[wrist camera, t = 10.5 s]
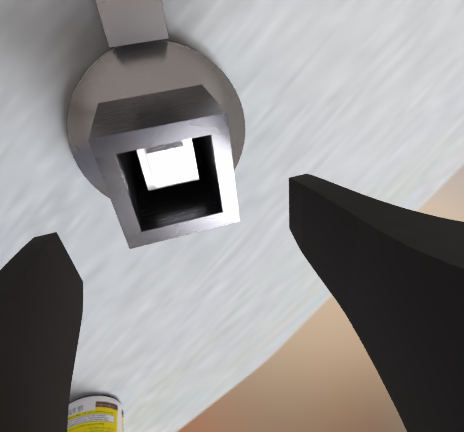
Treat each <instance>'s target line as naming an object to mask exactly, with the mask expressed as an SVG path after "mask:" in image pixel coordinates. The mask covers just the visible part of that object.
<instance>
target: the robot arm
mask: <svg viewBox="0 0 464 432" xmlns="http://www.w3.org/2000/svg"><path fill="white" fill-rule="evenodd" d="M289 228H290V230H291V232H292V234H293V236H294V238H295V240H296V242H297V244H298V246H299V248H300V250H301V251H302V253H303V255H304V256H305V257H306V259H307V260H308V262H309V263H310V264H311V266H312V267H313V269H314V270H315V271H316V273H317V274H318V276H319V277H320V278H321V280H322V281H323V282H324V284H325V285H326V287H327V288H328V289H329V291H330V292H331V294H332V295H333V296H334V298H335V299H336V300H337V302H338V303H339V305H340V306H341V308H342V309H343V311H344V312H345V314H346V315H347V317H348V319H349V321H350V322H351V324H352V326H353V328H354V329H355V331H356V333H357V335H358V336H359V338H360V340H361V342H362V343H363V345H364V347H365V349H366V351H367V353H368V355H369V356H370V358H371V360H372V362H373V364H374V366H375V368H376V369H377V371H378V373H379V375H380V377H381V379H382V381H383V383H384V385H385V387H386V389H387V391H388V393H389V395H390V397H391V399H392V401H393V403H394V405H395V407H396V409H397V411H398V413H399V415H400V417H401V419H402V422H403V423H404V426H405V428H406V430H407V432H464V222H461V221H455V220H450V219H445V218H440V217H436V216H432V215H428V214H424V213H420V212H416V211H412V210H409V209H405V208H402V207H398V206H395V205H392V204H389V203H386V202H383V201H380V200H377V199H374V198H371V197H368V196H365V195H363V194H360V193H357V192H355V191H352V190H349V189H347V188H344V187H342V186H339V185H337V184H334V183H332V182H329V181H326V180H324V179H321V178H318V177H316V176H313V175H309V174H304V175H299V176H295V177H291V178H289ZM82 313H83V281H82V279H81V277H80V275H79V274H78V272H77V270H76V268H75V266H74V264H73V262H72V260H71V258H70V257H69V255H68V253H67V251H66V249H65V247H64V245H63V243H62V242H61V240H60V238H59V236H58V234H57V232H55V233H51V234H47V235H42V236H38V237H34V238H33V239H32V240H31V241H29V242H28V243H27V244H26V245H25V246H24V247H23V248H22V249H21V250H20V251H19V252H18V253H17V254H16V255H15V256H14V257H13V258H12V259H11V260H10V261H9V262H8V263H7V264H6V265H5V266H4V267H3V268H2V269H1V270H0V432H67V426H68V408H69V396H70V388H71V381H72V375H73V369H74V363H75V357H76V351H77V345H78V339H79V332H80V326H81V320H82Z"/></svg>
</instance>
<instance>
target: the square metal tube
mask: <svg viewBox="0 0 464 432" xmlns="http://www.w3.org/2000/svg"><path fill="white" fill-rule="evenodd" d="M196 137H197V140H198V145H199V151H200V156H201V162H202V166H200V167H197V171H198V176H199V180H194V181H190V182H185V183H181V184H176V185H172V186H167V187H163V188H158V189H154V190H149V191H148V187H147V184H146V180H145V179H140V180H138V177H137V174H136V171H135V168H134V165H133V161H132V158H131V155H130V152H129V151H133V150H138V149H143V148H148V147H153V146H158V145H162V144H167V143H172V142H177V141H182V140H187V139H192V138H196ZM88 141H89V144H90V147H91V149H92V152H93V154H94V157H95V160H96V162H97V165H98V168H99V170H100V173H101V175H102V178H103V181H104V183H105V186H106V188H107V191H108V194H109V196H110V199H111V201H112V204H113V207H114V209H115V212H116V214H117V217H118V220H119V222H120V225H121V227H122V230H123V233H124V235H125V238H126V240H127V243H128V246H129V248H130V249H131V248H135V247H139V246H143V245H147V244H151V243H155V242H159V241H163V240H167V239H171V238H175V237H179V236H183V235H187V234H191V233H195V232H199V231H203V230H207V229H211V228H215V227H219V226H223V225H227V224H231V223H235V222H239V221H240V218H239V210H238V202H237V193H236V185H235V176H234V168H233V160H232V151H231V143H230V135H229V126H228V118H227V112H226V111H225V110H224V109H223V108H222V107H221V105H220V104H219V103H218V102H217V101H216V100H215V99H214V98H213V96H212V95H211V94H210V93H209V92H208V91H207V90H206V88H205V87H204V86H203V85H202V84H201V85H196V86H190V87H185V88H179V89H174V90H168V91H162V92H157V93H151V94H146V95H140V96H135V97H129V98H124V99H118V100H113V101H107V102H101V103H98V106H97V109H96V113H95V116H94V120H93V123H92V127H91V131H90V134H89V138H88Z"/></svg>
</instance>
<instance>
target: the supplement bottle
mask: <svg viewBox="0 0 464 432" xmlns="http://www.w3.org/2000/svg"><path fill="white" fill-rule="evenodd" d="M67 432H123V408H122V405H121V404H120V403H119V402H118V401H117V400H115V399H113V398H111V397H107V396H90V397H85V398H81V399H78V400H76V401H74V402H72V403H70V404H69V408H68V426H67Z"/></svg>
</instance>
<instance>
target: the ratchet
mask: <svg viewBox="0 0 464 432" xmlns="http://www.w3.org/2000/svg"><path fill="white" fill-rule="evenodd" d="M95 1H96V4H97V8H98V11H99V14H100V18H101V21H102V25H103V28H104V32H105V35H106V38H107V42H108V45H109V47H115V46H117V47H115V48H113V49H111V50H109V51H108V52H106V53H104V54H103V55H102V56H100V57H99V58H98V59H97V60H96V61H94V62H93V63H92V65H91V66H90V67H89V68H88V69H87V70H86V71H85V73H84V74H83V76H82V78H81V79H80V81H79V82H78V84H77V86H76V88H75V90H74V92H73V95H72V97H71V100H70V104H69V108H68V115H67V135H68V140H69V145H70V148H71V151H72V154H73V157H74V159H75V161H76V163H77V165H78V167H79V168H80V170H81V171H82V173H83V174H84V176H85V177H86V178H87V179H88V180H89V181H90V183H91V184H92V185H93V186H94V187H95V188H97V189H98V190H99V191H100V192H101V193H103V194H104V195H106V196H107V197H108V198H110V196H109V194H108V191H107V188H106V186H105V183H104V181H103V178H102V175H101V173H100V170H99V168H98V165H97V162H96V160H95V157H94V154H93V152H92V149H91V147H90V144H89V141H88V138H89V134H90V131H91V127H92V123H93V120H94V116H95V113H96V109H97V106H98V103H101V102H107V101H113V100H118V99H124V98H129V97H135V96H140V95H146V94H151V93H157V92H162V91H168V90H174V89H179V88H185V87H190V86H196V85H201V84H202V85H203V86H204V87H205V88H206V90H207V91H208V92H209V93H210V94H211V95H212V96H213V98H214V99H215V100H216V101H217V102H218V103H219V104H220V105H221V107H222V108H223V109H224V110H225V111H226V112H227V118H228V126H229V135H230V143H231V151H232V160H233V168H234V169H235V168H236V166H237V164H238V162H239V159H240V156H241V153H242V150H243V145H244V139H245V120H244V113H243V109H242V106H241V102H240V99H239V97H238V95H237V93H236V90H235V89H234V87H233V85H232V84H231V82H230V81H229V79H228V78H227V77H226V76H225V74H224V73H223V72H222V71H221V70H220V69H219V68H218V67H217V66H216V65H215V64H214V63H213V62H211V61H210V60H209V59H207V58H206V57H204V56H203V55H202V54H200V53H199V52H197V51H195V50H193V49H191V48H189V47H187V46H184V45H182V44H179V43H176V42H171V41H166V40H161V39H168V38H169V37H168V32H167V27H166V22H165V16H164V11H163V6H162V1H161V0H95ZM129 152H130V155H131V158H132V161H133V165H134V168H135V171H136V174H137V177H138V180H140V179H145V180H146V184H147V187H148V191H149V190H154V189H158V188H163V187H167V186H172V185H176V184H181V183H185V182H190V181H194V180H199V176H198V171H197V167H200V166H202V162H201V156H200V151H199V145H198V140H197V137H196V138H192V139H187V140H182V141H177V142H172V143H167V144H162V145H158V146H153V147H148V148H143V149H138V150H133V151H129Z"/></svg>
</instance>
